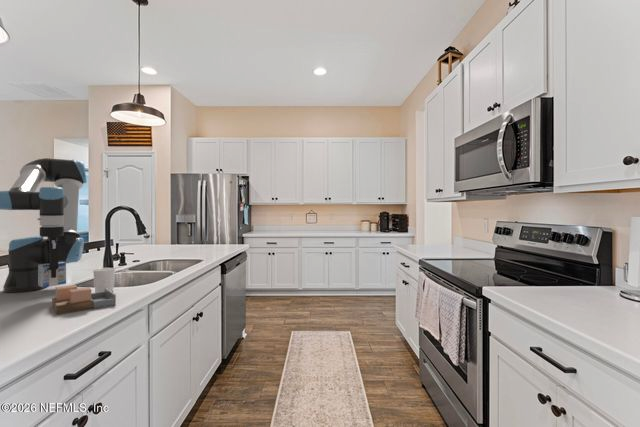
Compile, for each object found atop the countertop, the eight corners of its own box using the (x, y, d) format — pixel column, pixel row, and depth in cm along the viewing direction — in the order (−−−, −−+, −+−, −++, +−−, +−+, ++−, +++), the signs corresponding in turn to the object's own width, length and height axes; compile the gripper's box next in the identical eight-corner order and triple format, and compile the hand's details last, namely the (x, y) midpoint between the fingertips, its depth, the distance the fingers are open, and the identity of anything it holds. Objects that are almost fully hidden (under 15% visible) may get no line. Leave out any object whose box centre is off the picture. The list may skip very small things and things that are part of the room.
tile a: (55, 297, 124) (55, 287, 124) (75, 295, 128) (75, 284, 128) (57, 300, 121) (57, 289, 121) (77, 297, 125) (77, 286, 125)
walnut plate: (52, 306, 124) (52, 298, 124) (86, 300, 131) (86, 293, 131) (57, 314, 114) (57, 305, 114) (93, 308, 121) (93, 300, 121)
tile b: (69, 300, 121) (69, 289, 121) (88, 297, 125) (88, 287, 125) (71, 303, 117) (71, 292, 117) (91, 300, 122) (91, 289, 122)
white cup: (104, 294, 141) (104, 271, 140) (88, 293, 142) (88, 270, 142) (119, 290, 148) (119, 268, 148) (104, 289, 150) (104, 267, 150)
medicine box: (42, 287, 128) (42, 265, 128) (37, 285, 130) (37, 264, 130) (66, 283, 135) (66, 262, 134) (61, 282, 137) (61, 261, 137)
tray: (85, 300, 131) (85, 290, 131) (106, 297, 136) (106, 287, 136) (93, 308, 121) (93, 297, 121) (115, 304, 126) (115, 294, 126)
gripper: (37, 224, 135) (37, 281, 136) (41, 228, 122) (42, 290, 123) (60, 224, 141) (60, 278, 142) (67, 227, 128) (67, 287, 129)
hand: (52, 284), depth 133 cm, fingers closed on medicine box, 5 cm apart
